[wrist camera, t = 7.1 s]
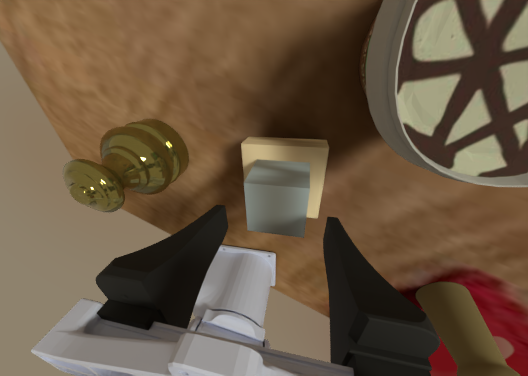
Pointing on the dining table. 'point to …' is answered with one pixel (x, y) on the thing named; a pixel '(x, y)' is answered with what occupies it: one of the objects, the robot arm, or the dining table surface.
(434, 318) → the cork
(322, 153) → the stacked blocks
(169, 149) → the olive shiny rounded piece
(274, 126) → the dining table surface
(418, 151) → the food container
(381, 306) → the robot arm
